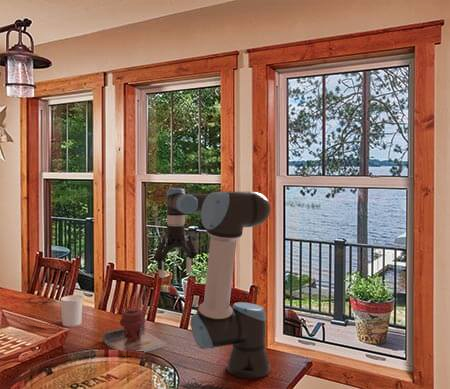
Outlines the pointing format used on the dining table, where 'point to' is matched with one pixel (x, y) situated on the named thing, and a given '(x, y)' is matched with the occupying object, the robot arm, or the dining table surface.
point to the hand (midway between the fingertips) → (175, 275)
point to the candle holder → (71, 310)
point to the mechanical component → (132, 323)
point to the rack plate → (145, 343)
